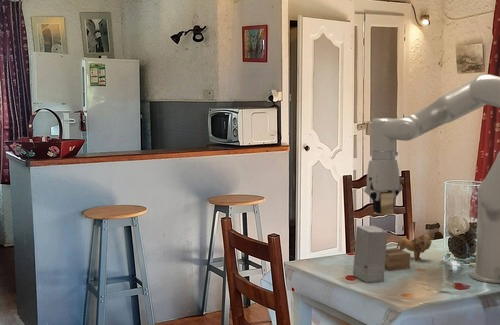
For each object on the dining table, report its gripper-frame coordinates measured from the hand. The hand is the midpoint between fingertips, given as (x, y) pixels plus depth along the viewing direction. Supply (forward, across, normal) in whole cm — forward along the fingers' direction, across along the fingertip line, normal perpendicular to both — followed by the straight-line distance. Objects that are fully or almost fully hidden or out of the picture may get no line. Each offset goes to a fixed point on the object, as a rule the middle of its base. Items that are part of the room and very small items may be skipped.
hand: (383, 211), depth 196 cm
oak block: (+1, 0, 0) cm, 1 cm away
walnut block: (+19, -3, +1) cm, 19 cm away
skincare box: (+19, +12, +10) cm, 24 cm away
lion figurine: (+19, -16, -6) cm, 25 cm away
